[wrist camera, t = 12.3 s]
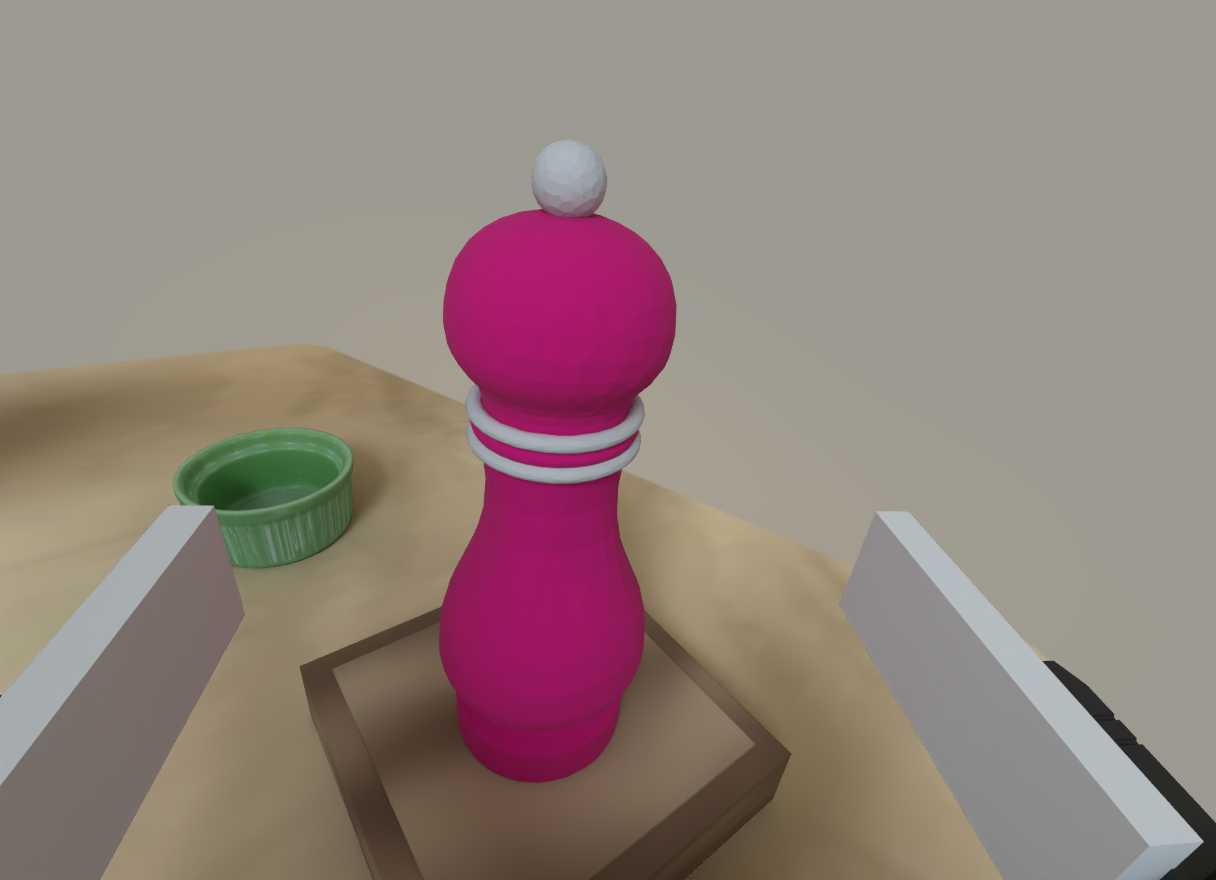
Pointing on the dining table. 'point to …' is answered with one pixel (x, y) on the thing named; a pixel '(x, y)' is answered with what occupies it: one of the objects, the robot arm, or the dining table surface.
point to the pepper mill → (551, 470)
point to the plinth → (524, 811)
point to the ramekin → (272, 493)
